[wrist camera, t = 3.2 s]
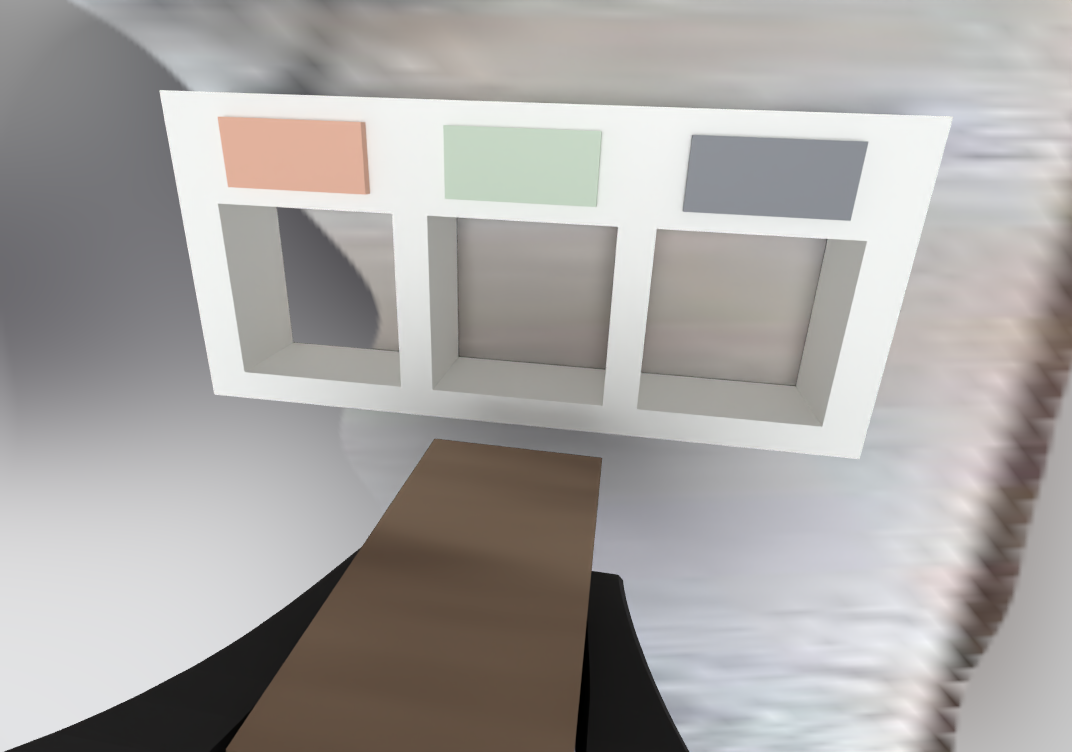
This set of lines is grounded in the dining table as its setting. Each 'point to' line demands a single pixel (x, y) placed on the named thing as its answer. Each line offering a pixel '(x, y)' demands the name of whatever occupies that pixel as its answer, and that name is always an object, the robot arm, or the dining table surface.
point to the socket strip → (553, 197)
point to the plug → (450, 616)
